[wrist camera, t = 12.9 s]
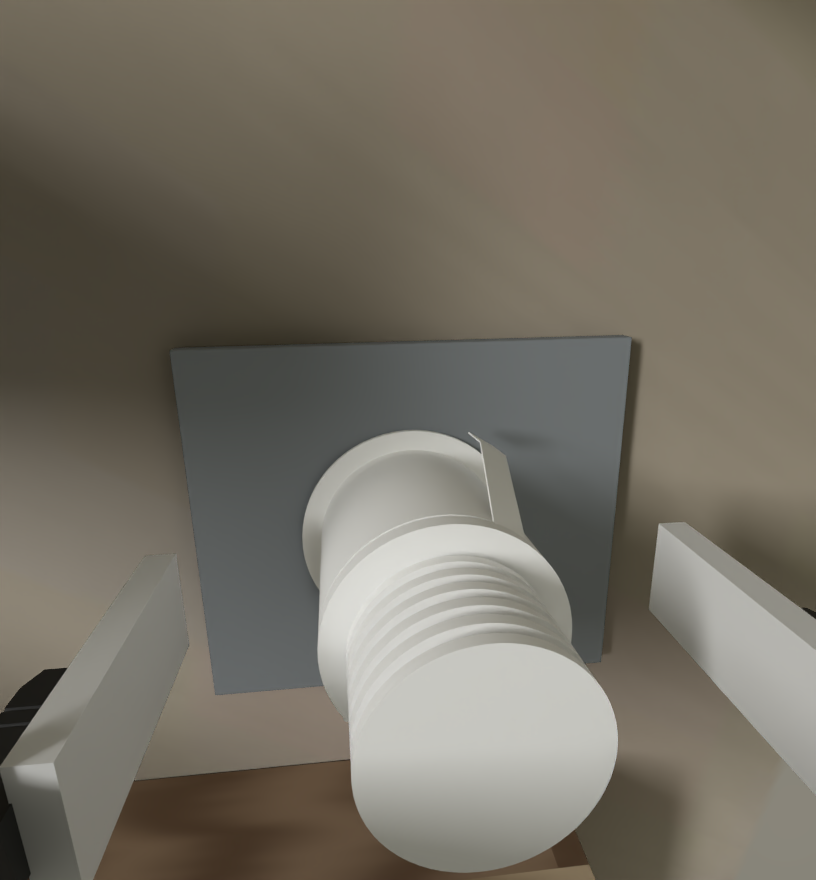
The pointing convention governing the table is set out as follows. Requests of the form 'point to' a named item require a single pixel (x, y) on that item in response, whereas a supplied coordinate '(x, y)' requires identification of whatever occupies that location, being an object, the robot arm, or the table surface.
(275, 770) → the open wooden box
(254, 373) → the rubber mat
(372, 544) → the downlight
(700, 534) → the robot arm
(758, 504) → the table surface
